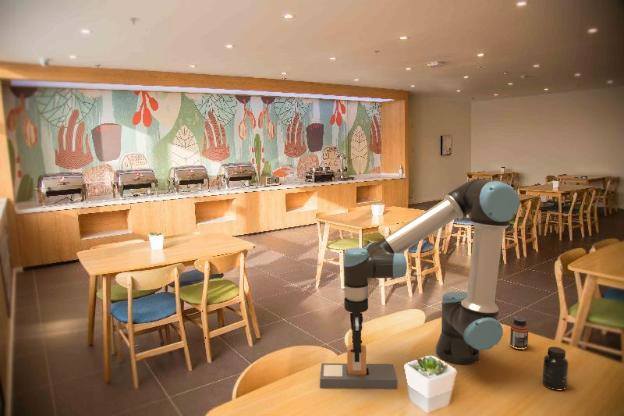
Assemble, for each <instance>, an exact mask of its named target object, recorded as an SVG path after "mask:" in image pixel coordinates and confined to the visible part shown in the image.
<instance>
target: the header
mask: <svg viewBox="0 0 624 416" xmlns="http://www.w3.org/2000/svg"><path fill="white" fill-rule="evenodd" d="M394 366H395V365H394V363H366V375H347V363H343V362H341V363H335V362H331V363H329V362H325V363H324V362H322V363H321V365H320V377H319V384H320V385H319V389H354V390H355V389H359V390H360V389H364V390H365V389H367V390H371V389H372V390H373V389H374V390H375V389H376V390H397V389H398V379H397V374H396V369H395V367H394Z"/></svg>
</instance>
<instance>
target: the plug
mask: <svg viewBox="0 0 624 416" xmlns="http://www.w3.org/2000/svg"><path fill="white" fill-rule="evenodd" d="M366 346H367V345H364V344H361V350H362V352H361V370H353V352H351V349H353V345H352V344H347V345H346V349H347V350H346V352H347V353H346V354H347V355H346V361H347V375H366V364H367V347H366Z"/></svg>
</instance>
